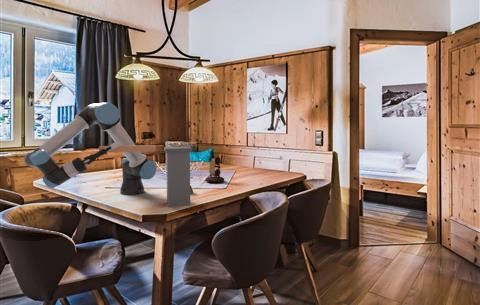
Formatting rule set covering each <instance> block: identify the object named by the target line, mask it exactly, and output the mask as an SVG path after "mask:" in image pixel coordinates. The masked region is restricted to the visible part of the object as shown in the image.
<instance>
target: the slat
mask: <svg viewBox="0 0 480 305" xmlns="http://www.w3.org/2000/svg"><path fill="white" fill-rule="evenodd" d="M135 145H136V144H135ZM107 146H108V145H99V146H98V152H99V151H100V150H102V149H104V148H105V147H107ZM156 149H157V148H156V145H155V144H152V145H151V144H148V145H147V144H146V145H145V144H144V145H136V146H118V147H116V148H115V149H113V150H111V151H109V152H108V153H123V152H141V153H142V152H156Z"/></svg>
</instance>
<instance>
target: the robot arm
mask: <svg viewBox="0 0 480 305" xmlns="http://www.w3.org/2000/svg"><path fill="white" fill-rule="evenodd" d="M121 121H122V119H121V118H120V111H119V109H118V107H117V106H115V105H114V104H113V103H111V102H99V103H95V102H94V103H91V104H89V105H87V106H85V107H84V108H83V109H82V110H80V111H79V112H78V113H77V114H76V115H74V119H73V120H70V121H69V123H68V124H66V125H65V126H63V128H61V129H60V130H58V131H57V132H56V133H55V134H54V135H52V136H51V137H50V138H47V140H45V142H44V143H42V144H41V145H40V146H38V147H37V148H35V149H34V150H33V151H32V152H27V153H26V154H25V155H24V157H23V162H24V164H25V165H26V166H27V167H29V168H34V169H38V170H39V171H40V172H41V173H42V174H43V175H44V176H43V177H42V182H43V183H44V184H45V186H46V187H47V188H49V189H54V188H57V187H58V186H61V185H62V184H64V183H65V182H67V181H69V180H70V179H73V178H77V175H79V174H81V173H83V172H85V171H86V170H88V169H87V165H88V166H89V165H90V164H91V163H93V162H95V161H96V160H97V159H99V158H100V157H102V156H104V155H108V153H110V152H109V151H111V150H113V149H115V148H116V147H118V146H136V144H135V142H134V141H133V140H132V138H131V137H130V136H129V134H128V132H127V131H126V129H125V128H124V127H123V125H122V124H121ZM94 125H98V126H99V127H100V129H101V130H102V131H103V132H106V133H107V134H108V135H109V136H110V138H111V139H112V141H113V143H110V144H109V145H106V146H107V147H105V148H104V149H102V150H100V151H99V150H98V151H96V152H95V153H94V154H92V153H91V154H90V155H87V156H85V157H83V159H82V158H80V157H76V158H74V159H72V160H71V161H68V162H67V163H65V164H63V165H61V166H59V165H58V163H57V162H56V161H55V160H54V159H53V158H52V157H53V156H54V155H55V154H56V153H58V152H60V150H61V149H62V148H64V147H65V146H66V145H68V144H69V143H70V142H71V141H72V140H74V139H75V138H76V137H77V136H78V135H79V134H81V133H82V132H83V131H84V130H85V129H86V130H87V129H88V130H89V128H90V127H92V126H94ZM122 155H124V156H125V157H126V158H125V157H123V158H122V159H121V168H122V183H121V185H120V189H119V193H120V195H121V194H122V195H138V194H143V193H145V186H144V184H143V181H142V180H151V179H153V177H155V175H156V173H157V170H158V167H157V165H156V163H155V162H154V161H152V160H150V159H149V158H148V156H147V155H146V154H142V152H122Z"/></svg>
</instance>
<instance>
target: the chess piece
mask: <svg viewBox="0 0 480 305" xmlns="http://www.w3.org/2000/svg"><path fill="white" fill-rule="evenodd" d="M208 161H209V169H208V170H209V171H208V172H209V176H208V177H206V178H205V183H207V182H210V183H213V184H216V183H221V182H222V183H225V178H224V177H222V176H221V164H220V163H221V157H219V156H216V157H215V156H213V155H211V156H210V157H209V158H208Z"/></svg>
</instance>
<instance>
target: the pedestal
mask: <svg viewBox="0 0 480 305" xmlns="http://www.w3.org/2000/svg"><path fill="white" fill-rule="evenodd" d="M163 151H164V152H165V154H166V156H165V158H166V160H165V161H166V163H165V164H166V165H165V167H166V204H167V208H176V206H177V207H187V206H189V207H190V206H191V193H190V186H191V153H193V148H192V147H190V146H164V147H163Z"/></svg>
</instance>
